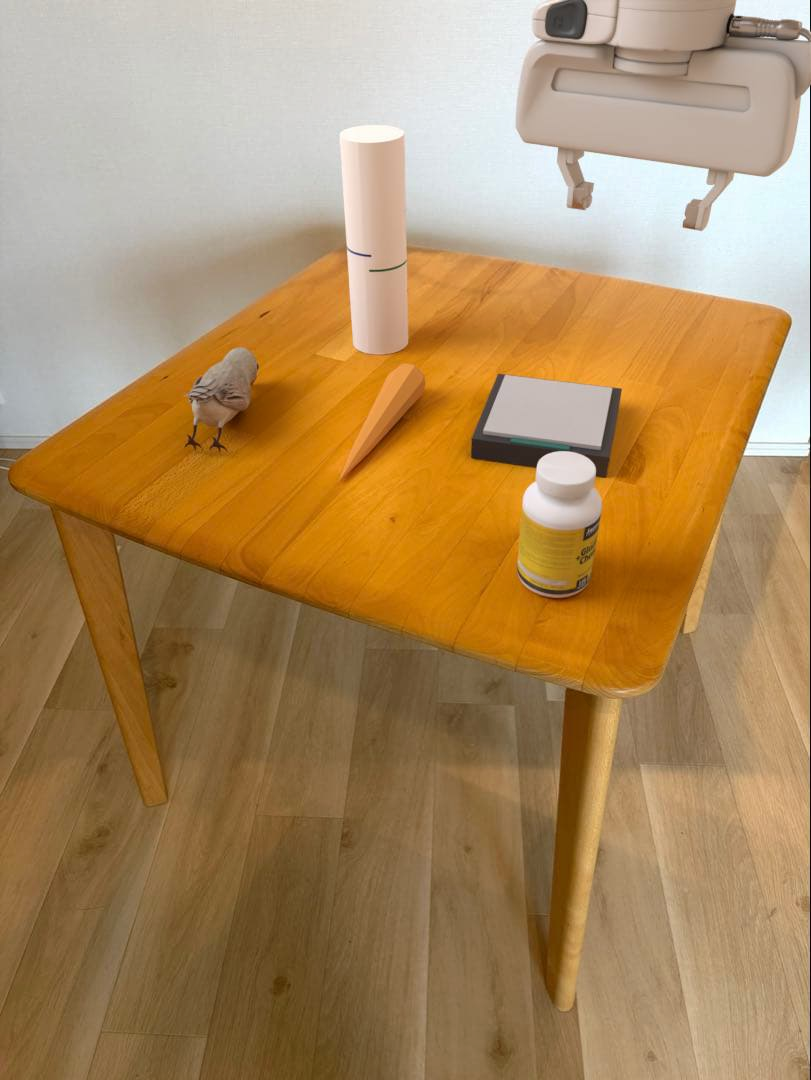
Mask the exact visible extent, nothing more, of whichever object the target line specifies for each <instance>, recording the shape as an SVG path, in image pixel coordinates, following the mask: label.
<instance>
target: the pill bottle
mask: <svg viewBox="0 0 811 1080" xmlns="http://www.w3.org/2000/svg"><path fill="white" fill-rule="evenodd" d="M535 469H536V471H535V481H533V482H532V483H531V484H530V485H529V486H527V488H526V490H525V491H524V493H523V496H522V502H521V503H522V505H521V516H520V526H519V527H520V528H519V539H518V552H517V562H516V563H517V564H516V572H517V576H518V578H519V581H520V582H521V583H522V584H523V586H525V587H526V588H527V589H528V590H529V591H531V592H532V593H535V594H537V595H539V596H542V597H546V598H551V599H552V598H553V599H555V598H556V599H563V598H568V597H572V596H574V595H577V594H579V593H580V592H582V591H583V590H584V589H585V588H586V587H587V586H588V585H589V583H590V581H591V578H592V573H593V566H594V561H595V559H594V558H595V553H596V547H597V541H598V534H599V529H600V523H601V516H602V510H603V500H602V497H601V495H600V493H599V491H598V489H596V488H595V483H596V477H597V476H596V467H595V465H594V463H593V462H592V461H591V460H590V459H589V458H587V457H585V456H583V455H581V454H578V453H574V452H568V451H558V452H553V453H549V454H547V455H545V456H543V457H542V458H541V459H540V460H539V462H538V464H537V468H535Z"/></svg>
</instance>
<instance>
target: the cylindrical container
mask: <svg viewBox="0 0 811 1080" xmlns="http://www.w3.org/2000/svg"><path fill="white" fill-rule="evenodd" d="M339 148H340V163H341V181H342V182H341V183H342V193H343V194H342V195H343V208H344V209H343V211H344V225H345V226H344V227H345V239H346V240H345V241H346V254H347V255H346V256H347V257H346V258H347V272H348V273H347V274H348V285H349V287H348V288H349V300H350V301H349V302H350V315H351V316H350V317H351V331H352V333H351V334H352V345H353V347H354V348H355V349H356V350H357V351H359V352H361V353H364V354H368V355H375V356H381V355H382V356H383V355H390V354H394V353H397V352H400V351H402V350H404V349H405V348H406V347H407V346H408V345H409V307H408V306H409V304H408V301H409V300H408V251H407V247H408V246H407V205H406V203H407V202H406V200H407V199H406V153H405V151H406V149H405V148H406V147H405V131H404V129H402V128H399V127H396V126H392V125H387V124H365V125H357V126H352V127H348V128H346V129H343V130H342V131H341V132H340V133H339Z"/></svg>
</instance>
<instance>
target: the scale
mask: <svg viewBox="0 0 811 1080" xmlns="http://www.w3.org/2000/svg"><path fill="white" fill-rule="evenodd" d="M622 390H623V389H622V388H620V387H614V386H613V387H612V386H603V385H597V384H587V383H579V382H571V381H564V380H563V381H562V380H553V379H546V378H539V377H538V378H537V377H529V376H521V375H514V374H513V375H512V374H504V373H497V375H496V377H495V380H494V383H493V385H492V387H491V390H490V392H489V395H488V397H487V400H486V402H485V405H484V407H483V409H482V412H481V414H480V416H479V418H478V421H477V424H476V426H475V429H474V432H473V434H472V436H471V442H470V444H471V445H470V448H471V449H470V459H474V460H482V461H489V462H497V463H502V464H509V465H517V466H524V467H532V468H535V469H537V464H538V462H539V460H540V459H541V458H542V457H543V456H545V455H547V454H549V453H553V452H558V451H568V452H574V453H578V454H581V455H583V456H585V457H587V458H589V459H590V460H591V461H592V462H593V463H594V465H595V467H596V477H599V478H607V475H608V470H609V465H610V459H611V453H612V447H613V443H614V437H615V431H616V426H617V421H618V414H619V410H620V409H619V408H620V403H621V396H622Z"/></svg>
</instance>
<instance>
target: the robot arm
mask: <svg viewBox="0 0 811 1080" xmlns="http://www.w3.org/2000/svg"><path fill="white" fill-rule="evenodd" d="M736 6H737V0H546V1H543V2H541V3H540V4H538V5H536V7H535V8H534V10H533V13H532V20H531V21H532V22H531V29H532V33H533V35H534V36H535V38H537V39H539V40H538V41H536V42H535V43H533V44H532V45H531V46H530V48H529V49H528V51H527V52H526V54H525V57H524V58H523V62H522V66H521V71H520V75H519V83H518V89H517V96H516V97H517V98H516V105H515V120H514V121H515V130H516V131H517V133H518V135H519V136H520V137H519V138H520V139H521V140H522V142H523V143H526V144H530V145H531V144H532V145H538V146H544V147H552V148H557V155H556V163H557V166H558V168H559V171H560V173H561V176H562V178H563V181H564V183H565V185H566V186H567V195H566V196H567V197H566V208H568V209H574V210H578V211H579V210H580V211H586V210H587V209H589V208H590V207H591V206H592V202H593V195H592V193H594V186H595V182H591V181H587V180H585V177H584V174H583V171H582V168H581V166H580V163H579V160H580V159H582V158H583V157H585V152H586V153H593V154H601V155H607V156H615V157H622V158H628V159H636V160H641V161H649V162H656V163H663V164H671V165H676V166H684V167H692V168H699V169H706V170H707V171H708V172H707V177H706V180H705V183H706V185H710V186H712V188H711V189H710V190H709V191H708V193H707V194H706V195H705V196H704V198H703V199H700V198H699V199H698V198H692V199H691V200H690V202H688V203H687V204H686V205H685V210H684V216H685V218H684V219H683V220H682V229H688V230H693V231H700V232H703V231H704V230H705V229H706V227H707V226H708V224H709V221H710V217H711V212H712V207H713V204H714V203H715V202H716V201H717V199H719V197H720V195H722V193H723V192H724V191H725V190H726V188H728V186H729V185H730V184H731V183H732V181H733V180H734V177H735V174H740V175H748V176H754V177H762V178H767V177H770V176H771V175H773V174H774V173H776V172H777V171H778V170H779V169H781V168H782V167H783V166H784V165H785V164H786V163H787V162H788V161H789V159H790V157H791V156H792V154H793V150H794V146H795V140H796V136H797V131H798V125H799V118H800V109H801V100H802V96H803V95H804V94H805V93H806V92H807V91H808V90H809V89H810V86H811V30H809V29H807V28H805V27H803V22H802V21H799V20H796V19H789V18H785V19H784V18H782V19H779V20H777V19H767V18H763V17H762V18H761V17H757V16H745V15H744V16H743V15H734V14H735V10H736ZM800 36H801V37H804V38H805V39H806V40H803V39H799V38H800Z"/></svg>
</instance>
